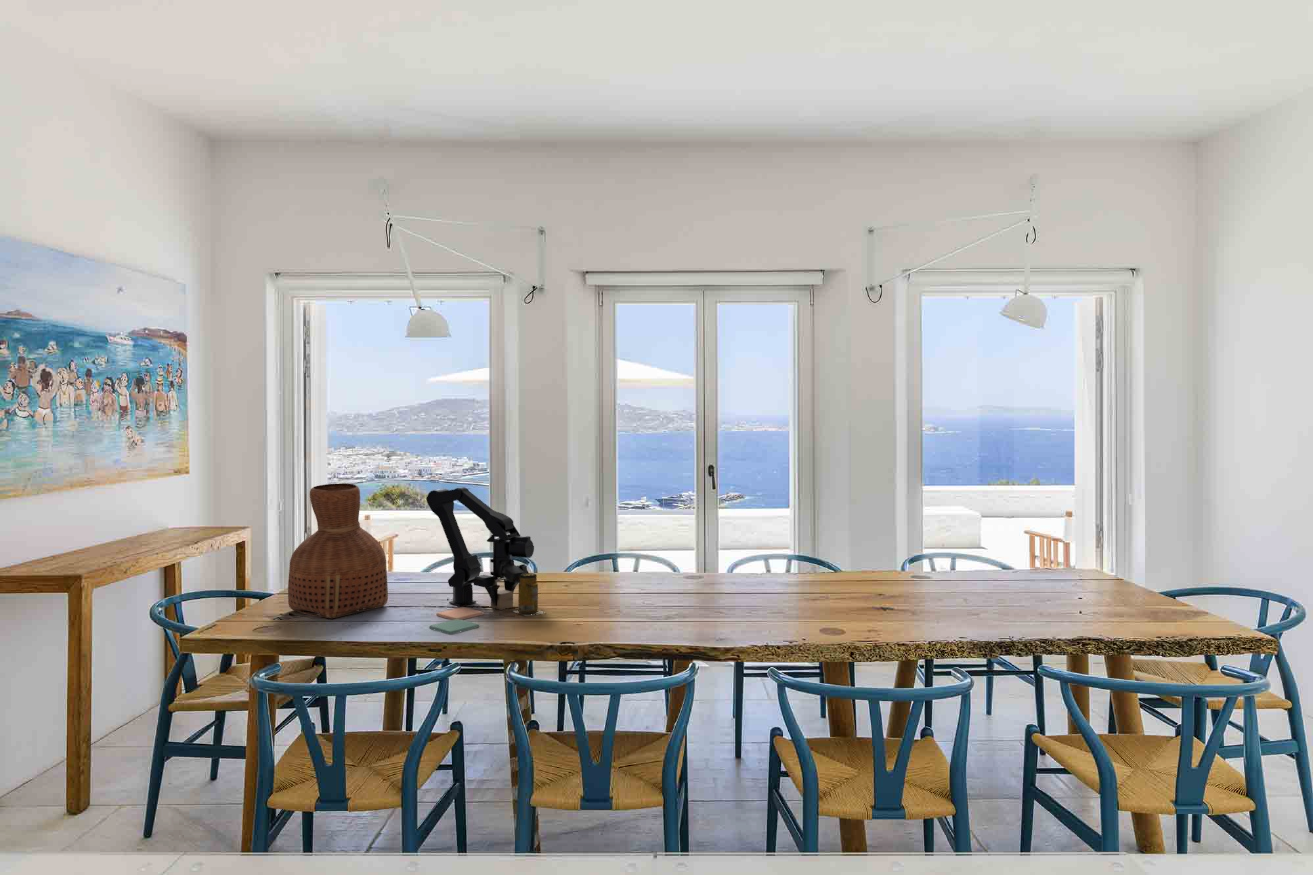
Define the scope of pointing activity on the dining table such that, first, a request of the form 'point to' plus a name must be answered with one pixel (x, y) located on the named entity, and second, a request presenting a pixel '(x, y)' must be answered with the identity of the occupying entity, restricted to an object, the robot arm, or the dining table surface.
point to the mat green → (454, 626)
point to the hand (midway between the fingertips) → (501, 603)
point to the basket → (337, 559)
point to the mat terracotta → (459, 613)
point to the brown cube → (503, 600)
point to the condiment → (528, 595)
